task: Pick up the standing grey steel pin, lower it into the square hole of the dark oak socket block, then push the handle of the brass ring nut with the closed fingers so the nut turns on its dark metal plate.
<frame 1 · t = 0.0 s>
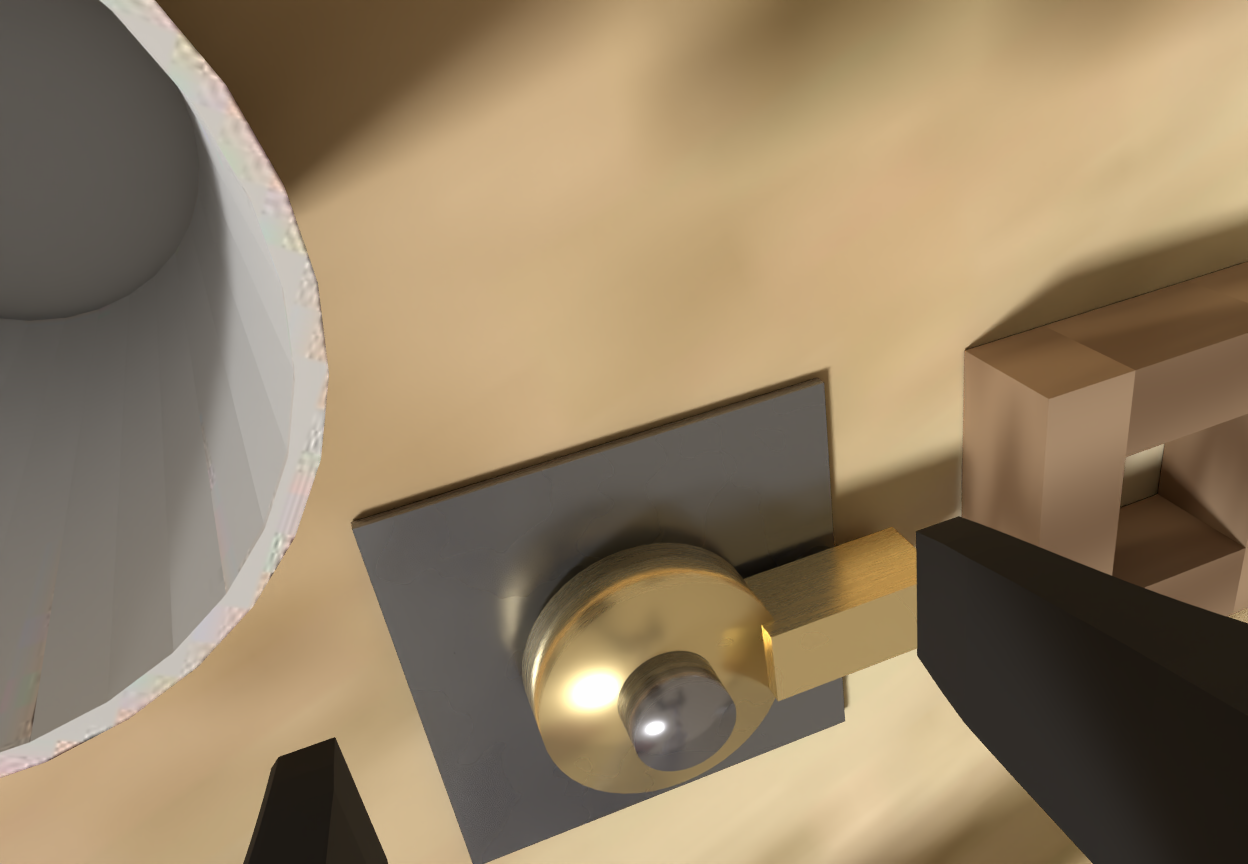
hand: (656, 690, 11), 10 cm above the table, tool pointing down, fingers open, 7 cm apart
socket block: (1101, 452, 27), on the table
ring nut: (741, 657, 23), point 2 cm above the table, hinge at 0.0°
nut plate: (633, 633, 24), on the table
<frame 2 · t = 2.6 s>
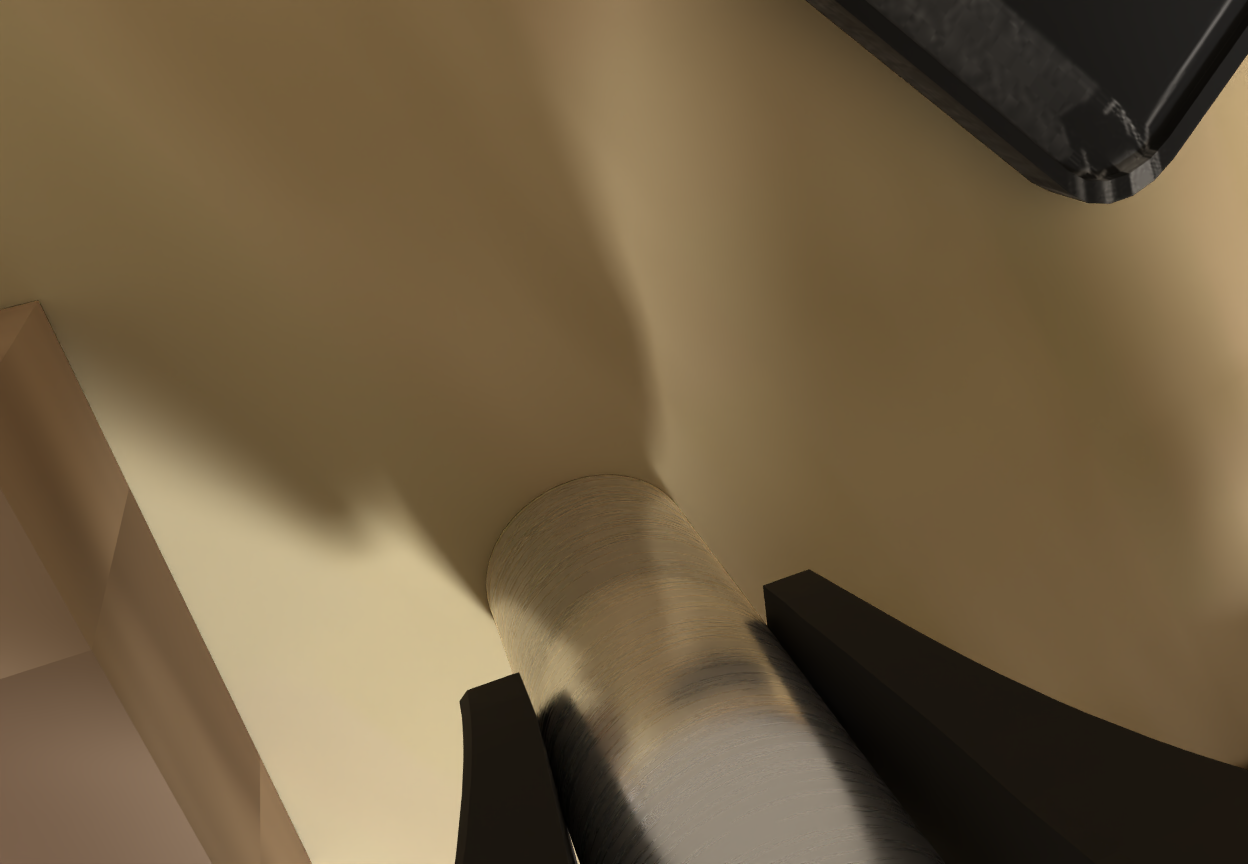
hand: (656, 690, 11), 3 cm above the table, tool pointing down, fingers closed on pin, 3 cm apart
pin: (591, 569, 14), on the table, touching gripper
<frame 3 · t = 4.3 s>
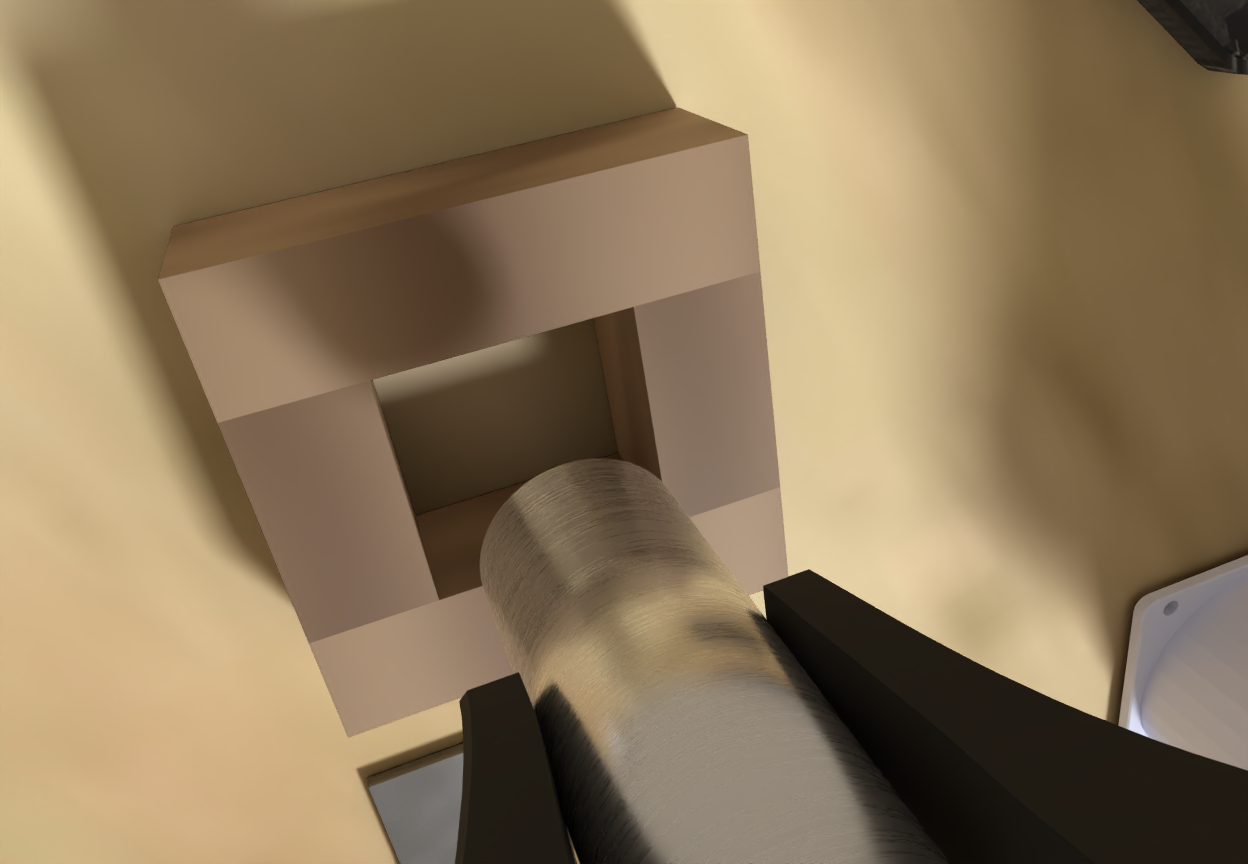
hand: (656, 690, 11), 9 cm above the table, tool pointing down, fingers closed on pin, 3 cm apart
socket block: (496, 390, 19), on the table
pin: (583, 552, 14), point 6 cm above the table, touching gripper
ring nut: (643, 856, 23), point 2 cm above the table, hinge at 0.0°
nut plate: (628, 844, 26), on the table
when the fingers open (4 cm above the table, at t = 5.8 s): pin stays where it is, resting in socket block.
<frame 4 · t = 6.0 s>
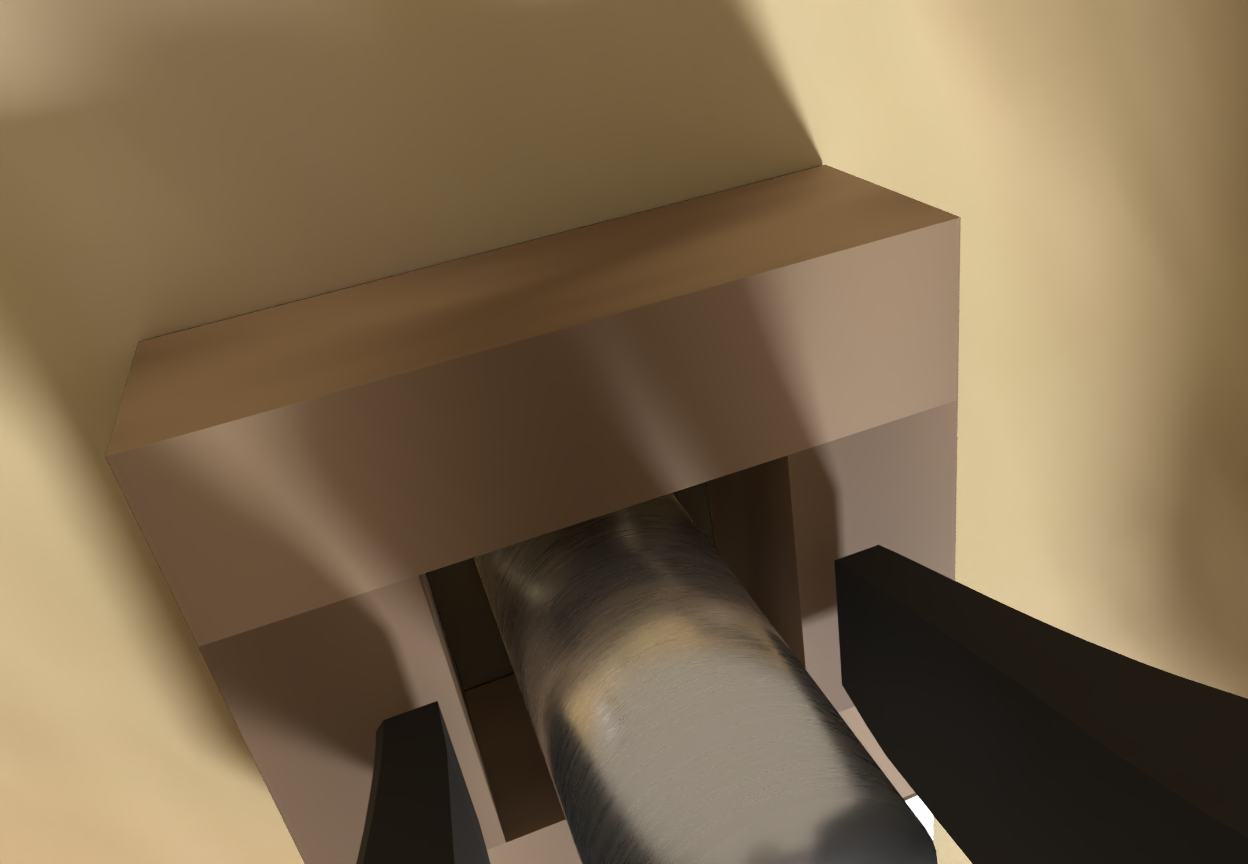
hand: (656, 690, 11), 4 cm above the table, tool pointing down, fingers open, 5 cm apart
socket block: (572, 533, 15), on the table
pin: (571, 526, 14), resting in socket block
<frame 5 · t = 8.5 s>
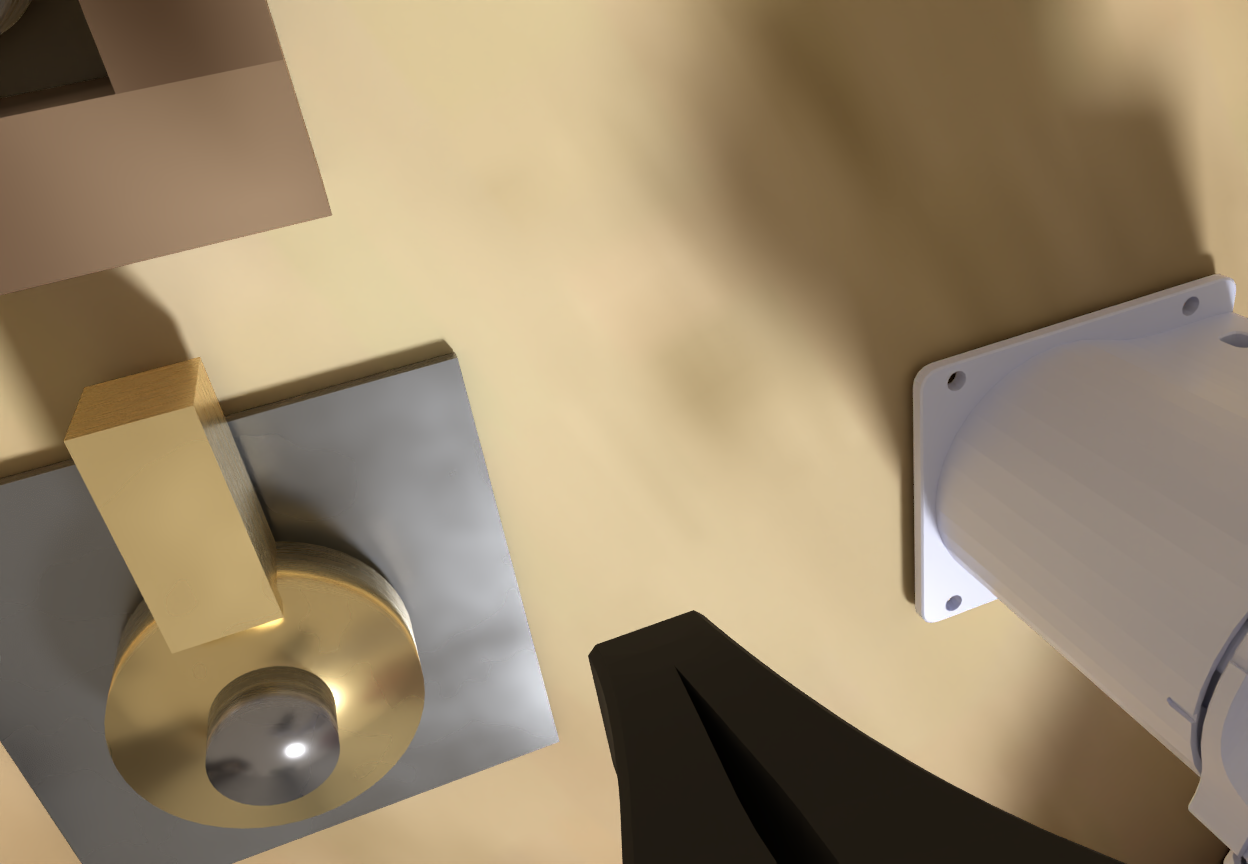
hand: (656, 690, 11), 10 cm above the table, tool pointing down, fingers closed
ring nut: (238, 631, 19), point 2 cm above the table, hinge at 0.0°
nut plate: (271, 644, 21), on the table
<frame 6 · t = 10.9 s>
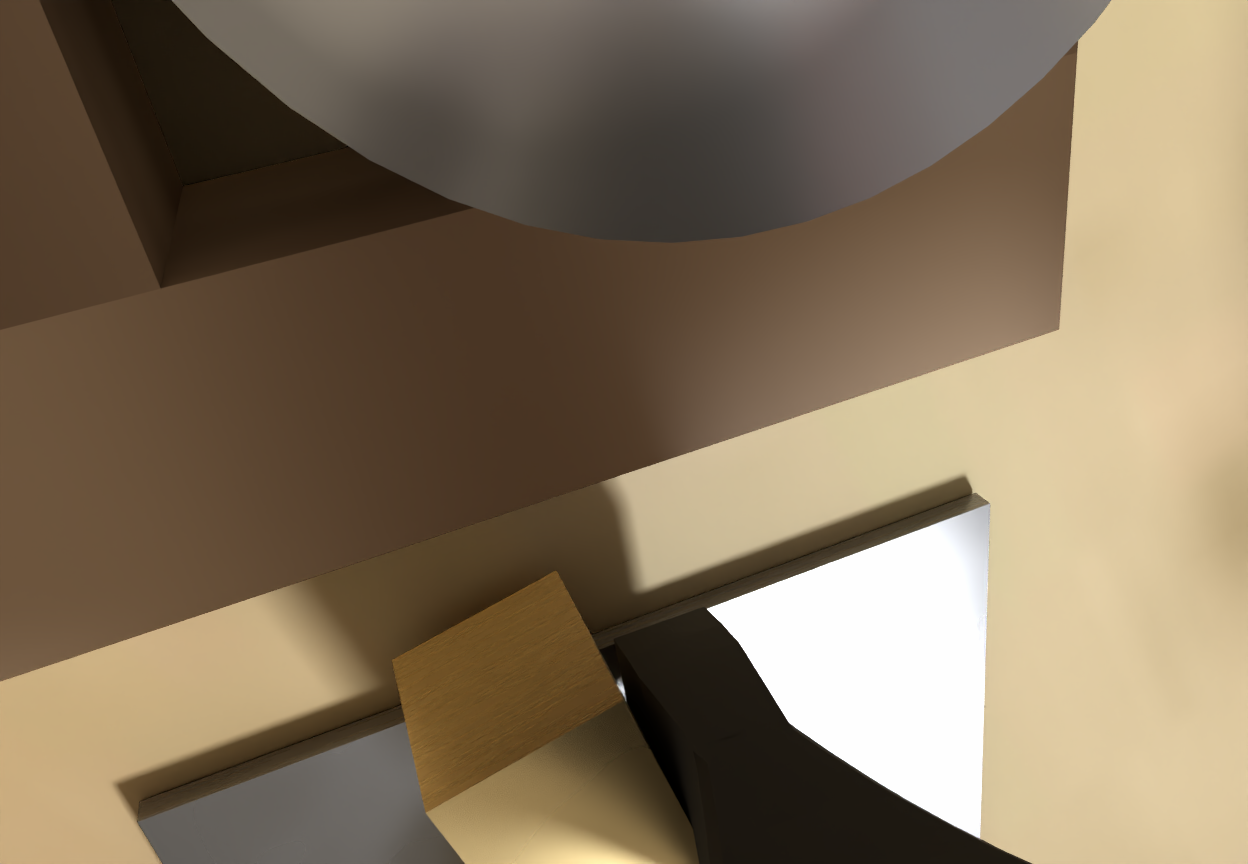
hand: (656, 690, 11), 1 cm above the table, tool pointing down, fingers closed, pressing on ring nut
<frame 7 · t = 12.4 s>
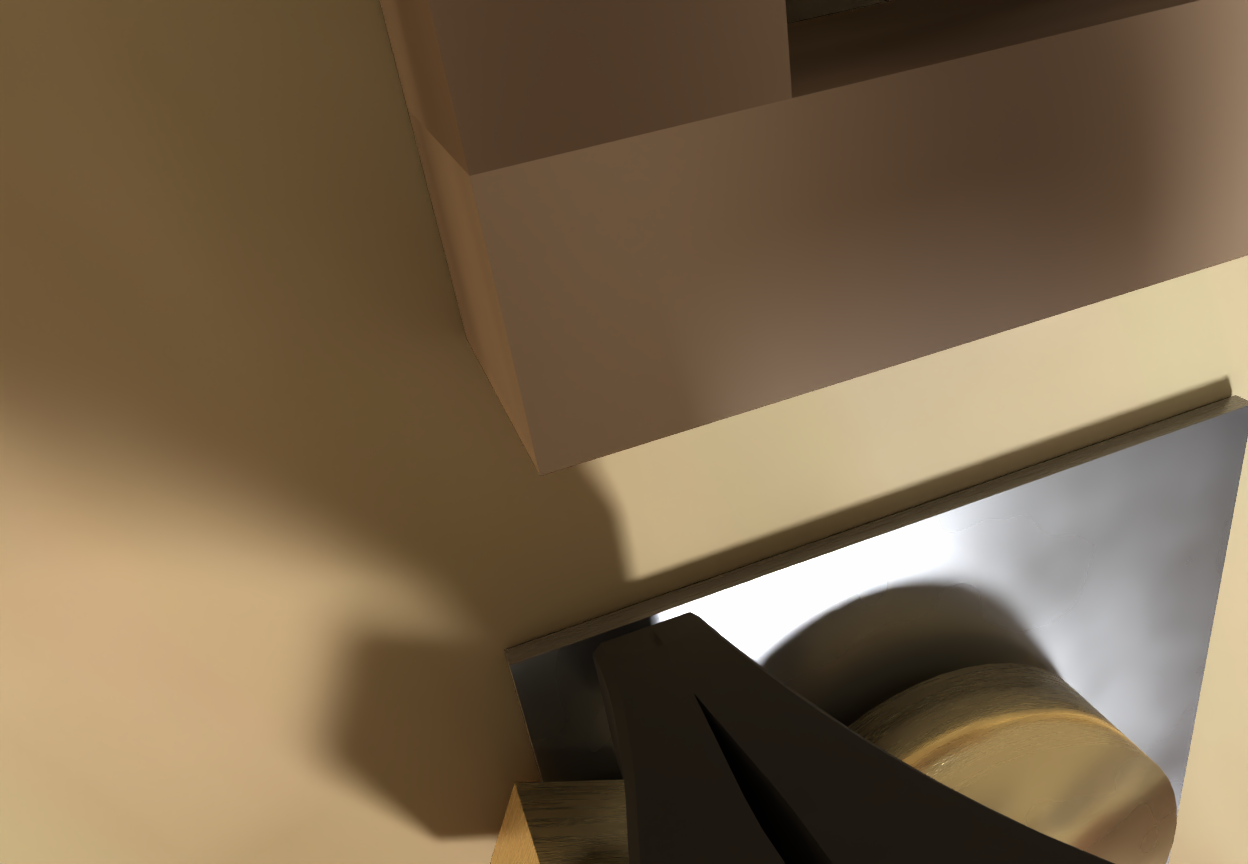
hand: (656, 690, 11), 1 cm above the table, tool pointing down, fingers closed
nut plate: (907, 792, 16), on the table
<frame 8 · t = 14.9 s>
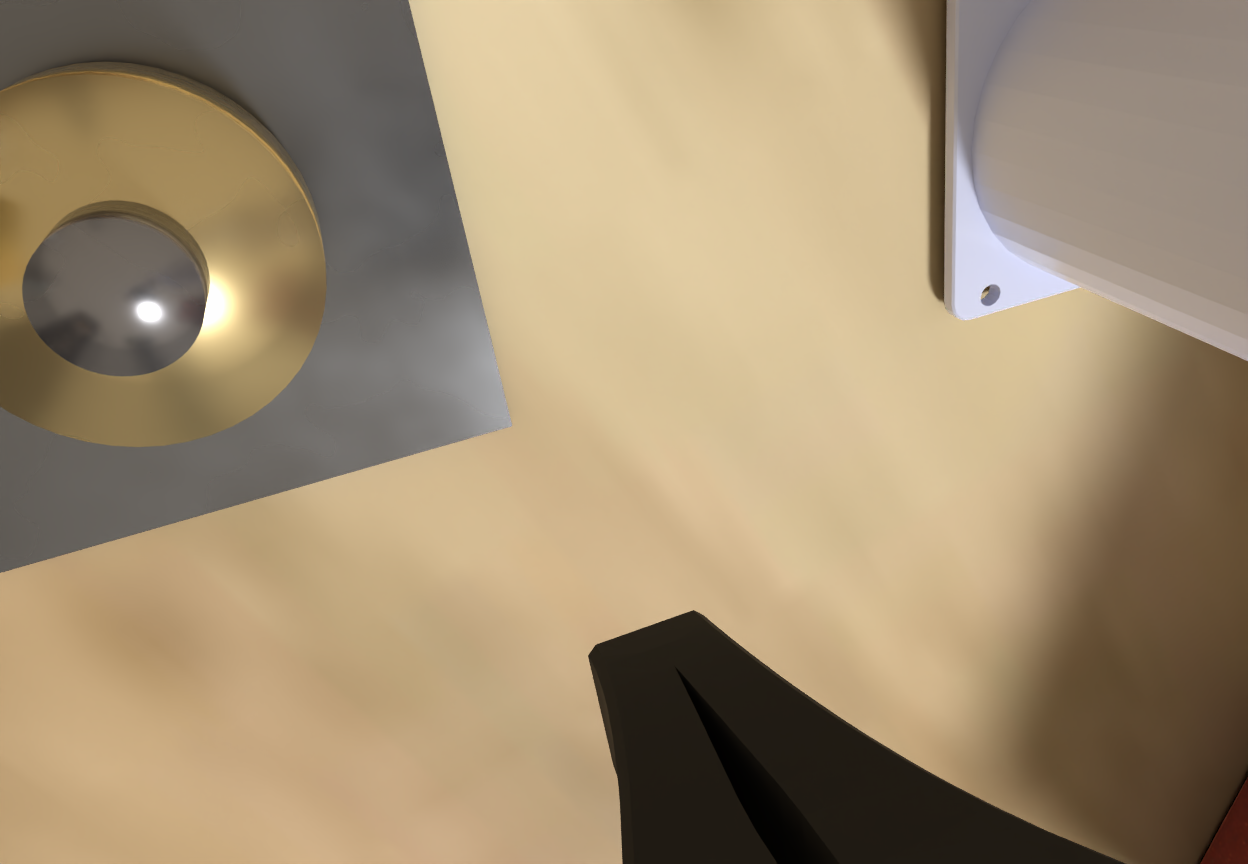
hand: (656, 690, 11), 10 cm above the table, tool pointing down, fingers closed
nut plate: (144, 237, 17), on the table
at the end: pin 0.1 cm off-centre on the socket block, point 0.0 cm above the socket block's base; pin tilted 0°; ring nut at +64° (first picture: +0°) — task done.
